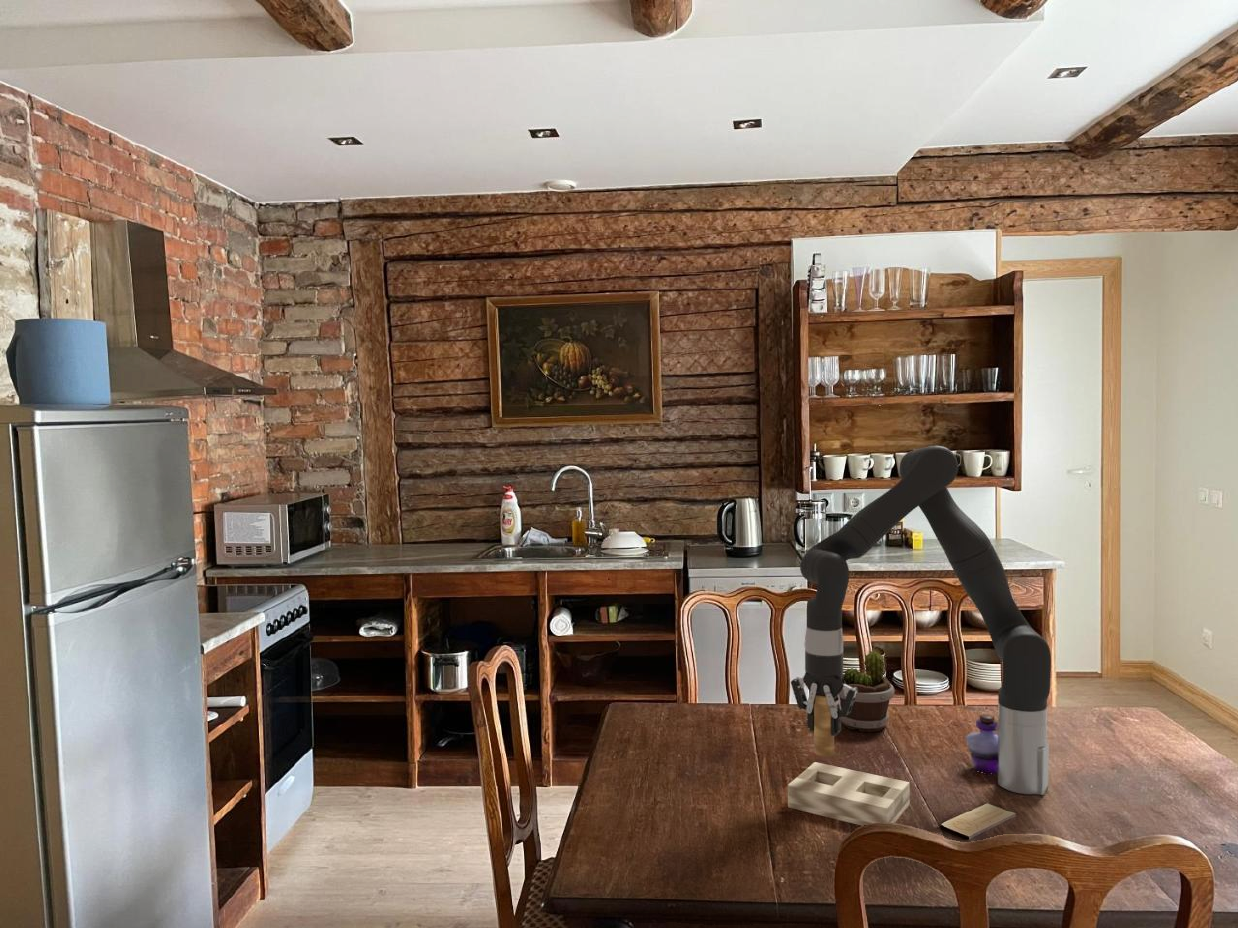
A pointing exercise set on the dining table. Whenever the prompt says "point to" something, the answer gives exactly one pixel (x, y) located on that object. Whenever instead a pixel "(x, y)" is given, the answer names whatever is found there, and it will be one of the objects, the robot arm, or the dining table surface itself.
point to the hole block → (848, 795)
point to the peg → (822, 727)
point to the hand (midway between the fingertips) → (823, 732)
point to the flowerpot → (868, 695)
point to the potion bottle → (984, 745)
